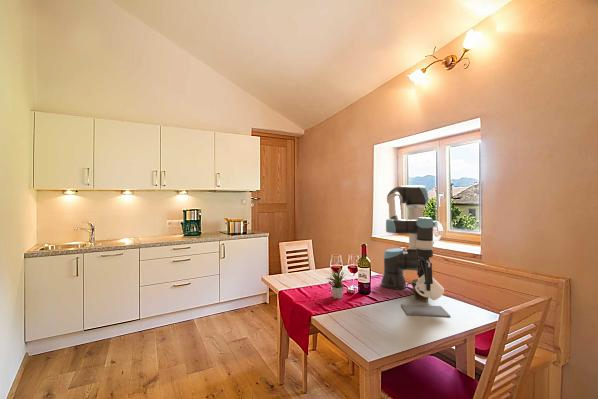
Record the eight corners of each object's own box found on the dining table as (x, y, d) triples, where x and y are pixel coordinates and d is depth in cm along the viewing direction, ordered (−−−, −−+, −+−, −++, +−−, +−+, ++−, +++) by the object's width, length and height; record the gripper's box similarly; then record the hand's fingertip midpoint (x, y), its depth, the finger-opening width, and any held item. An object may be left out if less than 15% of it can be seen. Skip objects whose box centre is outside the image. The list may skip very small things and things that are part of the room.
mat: (440, 307, 146) (440, 305, 146) (450, 317, 134) (450, 315, 134) (400, 305, 149) (400, 304, 148) (406, 315, 137) (406, 313, 137)
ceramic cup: (426, 296, 161) (426, 279, 161) (434, 303, 151) (434, 284, 151) (403, 296, 162) (403, 279, 162) (410, 303, 152) (410, 284, 152)
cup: (443, 296, 134) (427, 280, 135) (424, 305, 142) (409, 290, 143) (445, 285, 140) (430, 270, 142) (427, 295, 148) (412, 280, 149)
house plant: (327, 291, 171) (327, 264, 171) (350, 293, 167) (350, 265, 167) (322, 299, 157) (322, 270, 157) (347, 301, 154) (347, 272, 153)
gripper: (440, 252, 130) (440, 301, 130) (425, 244, 151) (425, 287, 151) (423, 252, 131) (423, 301, 131) (410, 244, 152) (410, 286, 152)
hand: (424, 293), depth 141 cm, fingers closed on cup, 8 cm apart
